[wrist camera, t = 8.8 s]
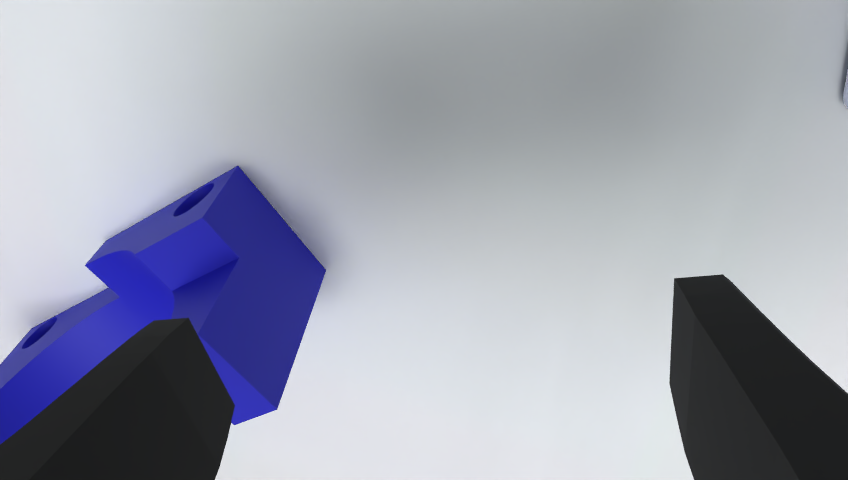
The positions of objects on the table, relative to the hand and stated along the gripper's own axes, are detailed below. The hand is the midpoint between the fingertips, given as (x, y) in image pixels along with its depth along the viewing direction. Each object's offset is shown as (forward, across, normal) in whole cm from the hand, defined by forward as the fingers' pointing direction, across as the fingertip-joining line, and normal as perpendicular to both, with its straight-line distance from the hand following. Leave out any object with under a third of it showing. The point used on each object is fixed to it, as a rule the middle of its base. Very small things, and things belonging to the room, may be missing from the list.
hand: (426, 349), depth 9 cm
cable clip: (+10, +12, +5) cm, 16 cm away
